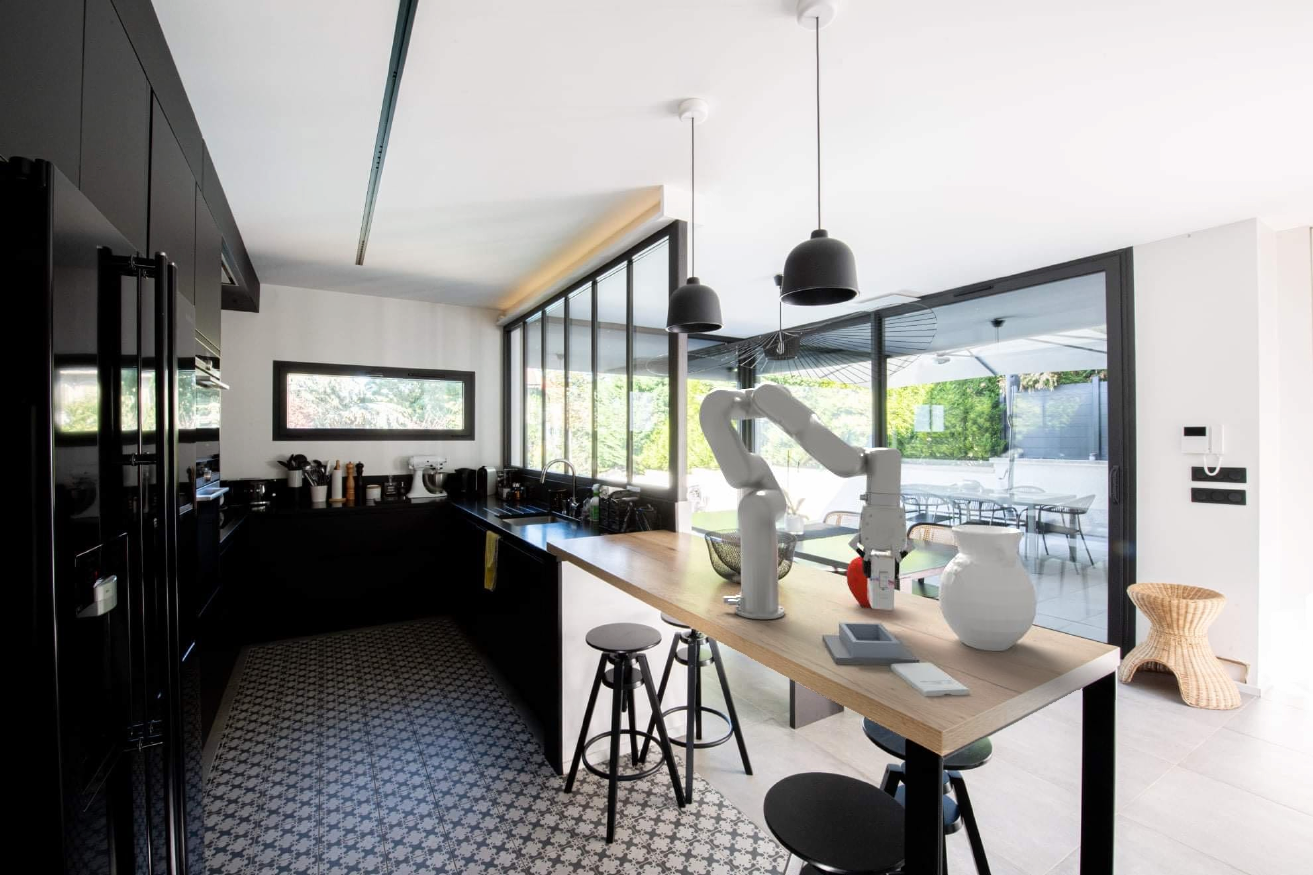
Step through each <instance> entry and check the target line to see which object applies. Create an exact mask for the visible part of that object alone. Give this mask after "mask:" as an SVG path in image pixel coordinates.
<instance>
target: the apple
mask: <svg viewBox="0 0 1313 875" xmlns="http://www.w3.org/2000/svg"><path fill="white" fill-rule="evenodd" d="M862 563H863V559H862V558H861V557H860V556H857V557H855V558H853V559H852V560H851V561H850V563H849V564H848V567H847V570H846V583H847V586H848V590H849V591H850V593H851V594H852V595H853V597H854V599H855V601H856V602H857V603H858V604H859V605H861V606H862V607H865V608H872V607H871V605H870V603H869V601H868V599H867V585H868V578H867V577H866V576H865V575H864V574H863V572H862Z"/></svg>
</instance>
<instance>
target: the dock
mask: <svg viewBox="0 0 1313 875" xmlns="http://www.w3.org/2000/svg"><path fill="white" fill-rule="evenodd" d="M821 640H822V642H823V644H824V646H825V647H826V649H827V651H828V652H829V655H830V656H831V657H832V659H833V661H834V663H835V664H836V665H837V664H838V665H839V664H840V665H868V666H871V665H872V666H876V665H877V666H891V665H892V664H901V663H920V659H919V658H918V657H917V656H916V655H915V654H914V653H913V651H912V650H910V649H909V647H908V646H907V645H906V644H905V643H904V642H903V640H901V639H900V638H899V637H898V636H897V635H896V636H894V635H893V634H892V633H891V632H890V631H889V629H887V628H886V627H885V626H884V625H883V624H882V623H881V622H845V621H843V622H839V621H838V635H836V634H822V637H821Z"/></svg>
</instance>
